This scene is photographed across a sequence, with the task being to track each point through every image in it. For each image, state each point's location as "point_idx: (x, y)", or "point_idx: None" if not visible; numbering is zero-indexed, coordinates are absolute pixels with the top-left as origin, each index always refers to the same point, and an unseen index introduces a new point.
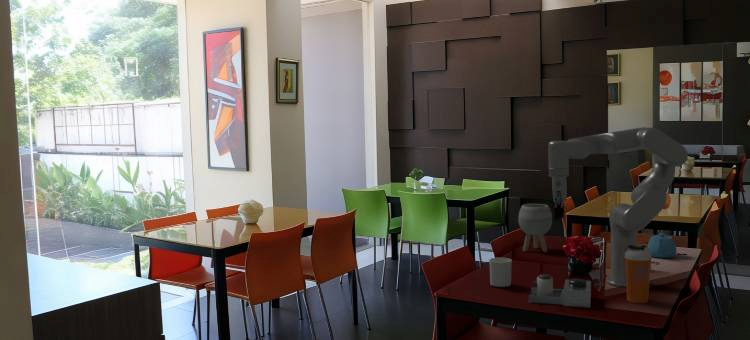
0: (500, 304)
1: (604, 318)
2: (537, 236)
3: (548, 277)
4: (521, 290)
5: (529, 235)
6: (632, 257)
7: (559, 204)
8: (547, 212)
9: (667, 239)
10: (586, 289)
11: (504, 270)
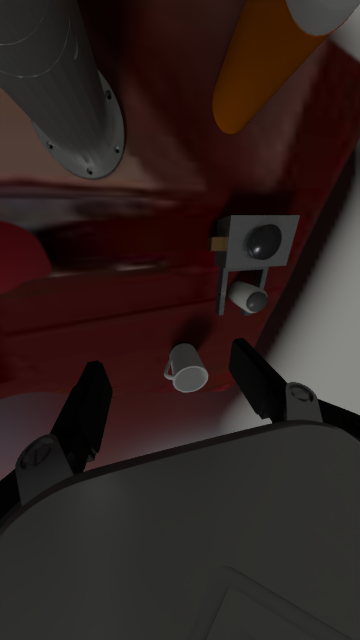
0: (260, 333)
1: (325, 194)
2: None
3: (265, 295)
4: (200, 326)
5: None
6: None
7: (349, 419)
8: None
9: None
10: (289, 223)
11: (201, 362)
